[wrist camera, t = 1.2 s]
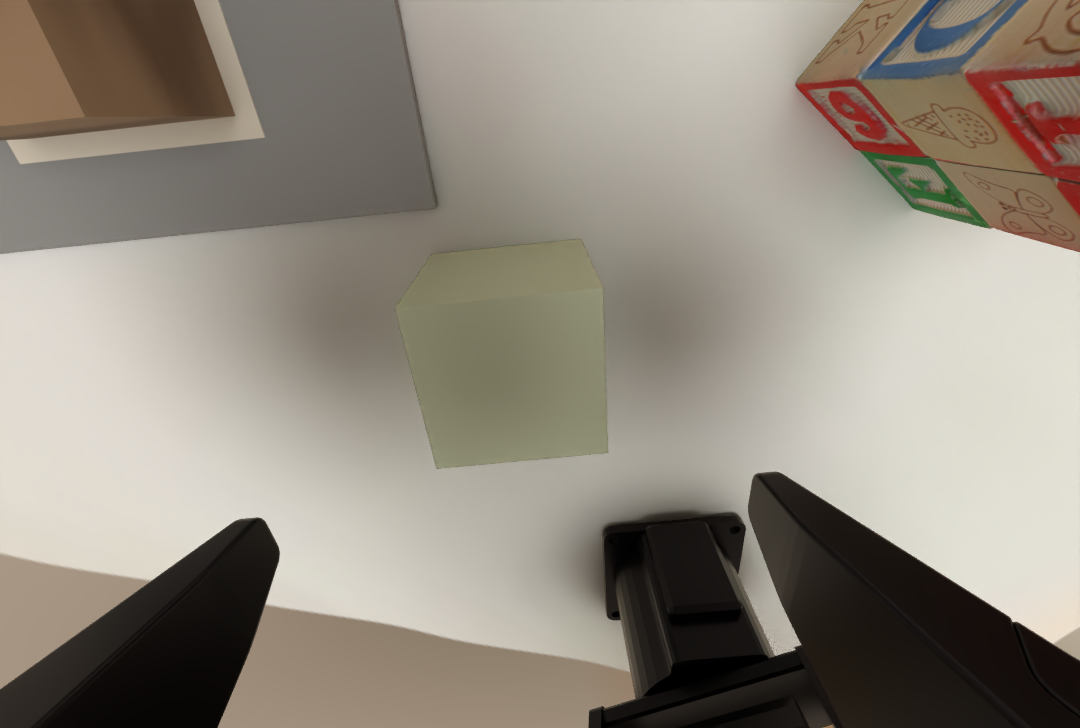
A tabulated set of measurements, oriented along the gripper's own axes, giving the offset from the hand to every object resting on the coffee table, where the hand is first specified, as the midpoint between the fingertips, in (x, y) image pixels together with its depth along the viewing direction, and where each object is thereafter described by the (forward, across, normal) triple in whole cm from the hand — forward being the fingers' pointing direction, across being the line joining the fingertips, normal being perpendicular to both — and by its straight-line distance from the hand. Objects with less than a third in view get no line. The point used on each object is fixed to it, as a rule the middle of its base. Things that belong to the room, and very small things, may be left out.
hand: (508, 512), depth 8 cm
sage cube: (+9, 0, 0) cm, 9 cm away
